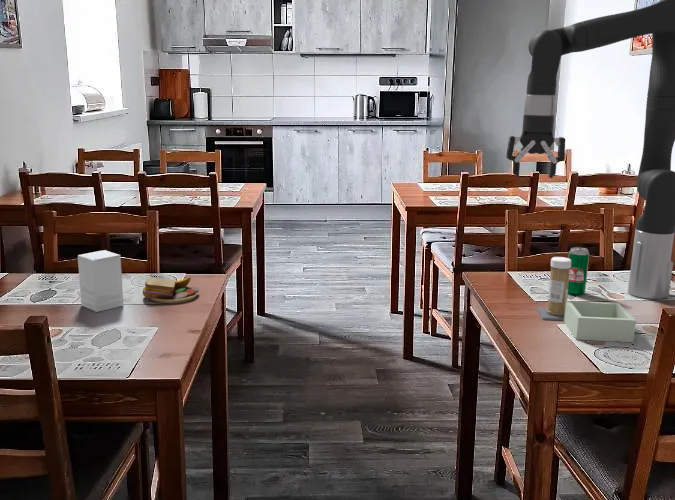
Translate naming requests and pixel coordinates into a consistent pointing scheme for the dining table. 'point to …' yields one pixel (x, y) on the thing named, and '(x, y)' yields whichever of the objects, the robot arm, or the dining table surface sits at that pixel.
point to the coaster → (548, 315)
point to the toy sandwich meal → (169, 290)
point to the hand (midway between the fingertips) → (533, 177)
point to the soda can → (578, 270)
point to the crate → (599, 321)
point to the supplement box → (100, 280)
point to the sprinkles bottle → (558, 285)
